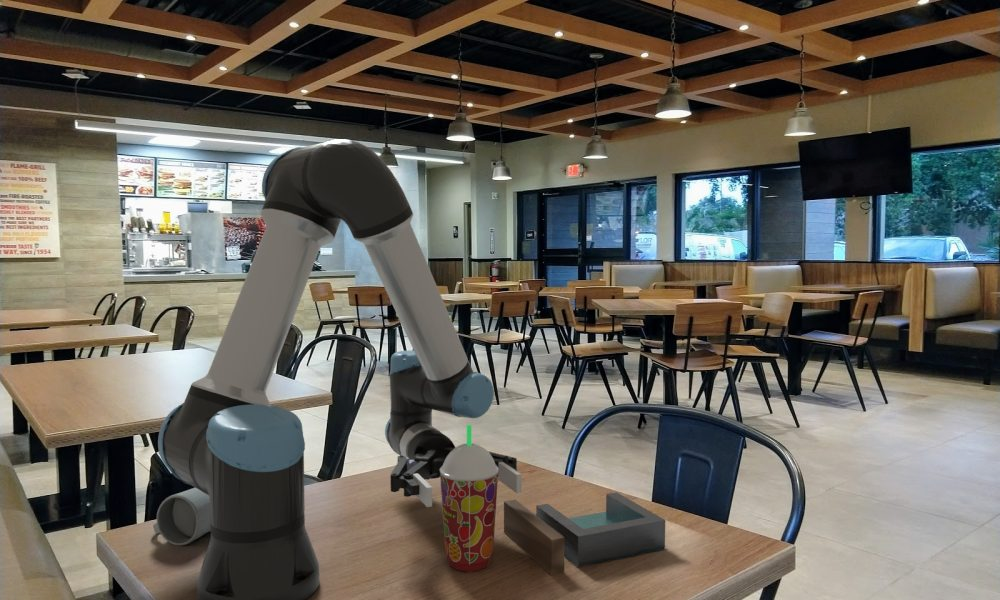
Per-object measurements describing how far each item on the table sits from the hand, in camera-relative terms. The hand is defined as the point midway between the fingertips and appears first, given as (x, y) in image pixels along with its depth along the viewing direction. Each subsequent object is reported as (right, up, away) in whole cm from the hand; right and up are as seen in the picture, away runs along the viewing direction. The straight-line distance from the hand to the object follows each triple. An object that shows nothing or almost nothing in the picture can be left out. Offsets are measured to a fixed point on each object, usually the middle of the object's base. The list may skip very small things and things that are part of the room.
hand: (475, 490), depth 95 cm
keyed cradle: (+18, -10, +10) cm, 23 cm away
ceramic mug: (-46, -11, +11) cm, 48 cm away
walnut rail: (+8, -11, +6) cm, 15 cm away
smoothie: (-1, -11, +2) cm, 11 cm away
